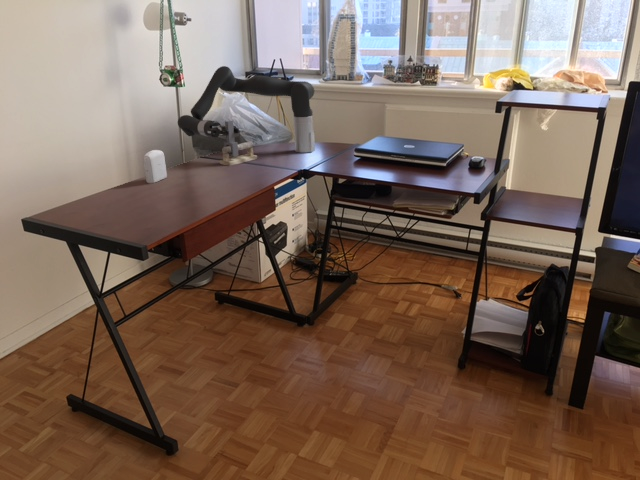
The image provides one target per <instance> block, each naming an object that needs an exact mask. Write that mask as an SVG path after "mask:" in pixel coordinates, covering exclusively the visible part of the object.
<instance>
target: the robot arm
mask: <svg viewBox="0 0 640 480" xmlns="http://www.w3.org/2000/svg"><path fill="white" fill-rule="evenodd" d="M218 90H221V91H223V92H230V93H233V92H234V93H235V92H236V93H245V94H246V93H247V94H255V95H259V96H264V97H265V96H267V97H290V98H291V100H290V102H291V110H292V112H293V113H292V114H293V128H294V129H293V131H294V150H295V153H300V154H301V153H312V152H314V151H315V150H316V148H315V147H316V144H315V142H316V141H315V131H314V122H313V121H314V119H313V118H314V117H313V110H312V109H311V106H310V100H311V99H312V98H313V96H314V94H315V88H314V86H313V84H311V83H310V82H308V81H300V80H299V81H296V80H293V81H292V80H285V79H281V78H276V77H273V76H266V75H259V74H258V75H254V76H252V77H251V76H250V77H249V78H246V79H242V78H238V77H235V75H234V73H233V72H232V70H231V68H230V67H229V66H225V65H223V66H220V67H218V68H217V69H216V70H215V71H214V73H213V75H212V76H211V78H210V79H209V82H208V83H207V85H206V87H205V90H204V91H203V93H202V95H201V96H200V97H199V99H198V100H197V101H196V102H195V104H194V105H193V107H192V108H191V109H190V114H191V115H189V114H188V115H187V114H184V115H182V116H180V117H178V120H177V126H178V127H179V128H180V129H181V130H182V131H183V133H184V134H185V135H187V137H193V136H195V135H200V136H204V137H208V138H219V136H223V135H224V136H226V135H229V130H226V129H225V124H224V125H223V124H221V123H220V122H219V121H217V120H209V119H204V118H205V117H206V116H207V114H208V113H209V112H210V110H211V108H212V106H213V104H214V101H215V97H216V94H217V92H218ZM233 128H234V134H240V129H239V128H238V127H237V126H236V125H233Z"/></svg>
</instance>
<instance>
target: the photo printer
mask: <svg viewBox="0 0 640 480" xmlns="http://www.w3.org/2000/svg"><path fill="white" fill-rule="evenodd" d="M142 159H143V166H144V174H145V181H146V183H147V184H155V183H158V182H159V181H162V180H164V179H166V178H167V177H168V173H167V166H166V161H165V160H166V158H165V154H164V152H163V151H162V150H159V149H153V150H149V151H148V152H146V153H145V154H144V156H143V158H142Z"/></svg>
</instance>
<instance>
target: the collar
mask: <svg viewBox="0 0 640 480" xmlns="http://www.w3.org/2000/svg"><path fill="white" fill-rule="evenodd" d="M224 126H225V129H226V130H229V135H225V137H226V138H225V139H226V141H224V142H223V147H227V146H231V149H232V152H229V157H236V156H240V155H239V150H238V144H239V143H238V142H237V141H235V140H236V139H235V133H234V128H233V126H234V120H225V121H224Z"/></svg>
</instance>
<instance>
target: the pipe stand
mask: <svg viewBox="0 0 640 480" xmlns="http://www.w3.org/2000/svg"><path fill="white" fill-rule="evenodd" d="M253 146H254V143H253V141H247V142H242V143H238V151H242V150H245V149H246V150H247V151H246V152H247V153H245V154H242V155H241V154H240V155H239V156H234V157H233V156H231V157H230V156H229V152H232V149H231V146H227V147H224V146H223V147H222V148H221V151H222V159H221V160H219V164H221V165H223V166H224V165H225V166H234V165H238V164H242V163H246V162H249V161H254V160H257V159H258V155H256V154H254V147H253Z"/></svg>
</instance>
